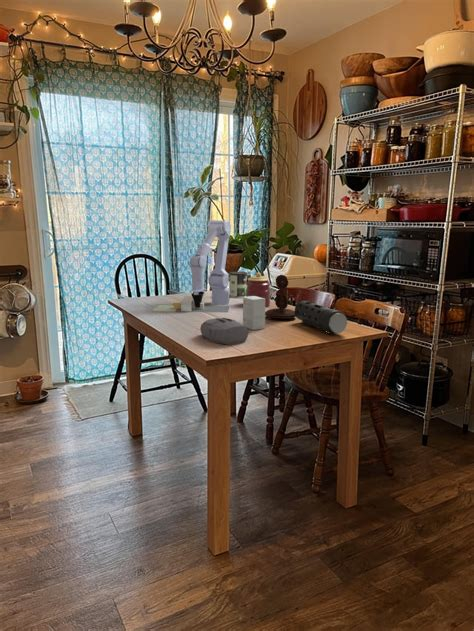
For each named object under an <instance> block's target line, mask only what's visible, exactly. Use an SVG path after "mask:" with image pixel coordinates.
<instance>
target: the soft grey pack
mask: <svg viewBox="0 0 474 631" xmlns="http://www.w3.org/2000/svg"><path fill="white" fill-rule="evenodd" d="M199 328H200V333H201V336H202V337H204V338H205V339H207V340H208V339H209V340H208V341H210V340H211V342H213V343H217V344H220V345H229V344H231V345H234V344H235V345H236V344H237V345H238V344H241V343H244V342H246V341H247V339H248V337H249V336H248V335H249V332H248V331H249V330H248V328H246V326H244V325H243V323H241V322H239V321H237V320H235V319H231V318H227V317H214V318H211V319H210V318H209V319H206V320H205V321H204V322H203V323H201V325H200V327H199ZM229 346H230V345H229Z"/></svg>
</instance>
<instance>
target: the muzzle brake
mask: <svg viewBox="0 0 474 631" xmlns="http://www.w3.org/2000/svg"><path fill="white" fill-rule="evenodd" d="M294 311H295V316H296V317H295V318H296V319H298V321H301V322H302V323H303V322H304V323H303V324H305V323H306V324H305V325H308V324H309V325H308V326H310V325H311V327H313V326H314V328H315V327H318V328H317V329H321V330H323V332H324V331H327V332H329V333H328V334H332V335H333V334H341V333H343V332H344V331H345V330H346V328H347V326H348V319H347V316H346V315H345V314H344V313H343V312H342V311H340V310H337V309H332V308H329V307H326V306H322V305H320V304H317V303H313V302H311V301H308V300H301V301H298V302H297V304H296V305H295V307H294Z"/></svg>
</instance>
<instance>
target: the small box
mask: <svg viewBox="0 0 474 631" xmlns="http://www.w3.org/2000/svg"><path fill="white" fill-rule="evenodd" d="M265 312H266V307H265V298H261V297H257V296H248V297H243V298H242V324H243V325H244V326H246V328H247V329H250V330H252V331H255V330H256V331H257V330H263V329H266V315H265Z"/></svg>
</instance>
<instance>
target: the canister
mask: <svg viewBox="0 0 474 631" xmlns="http://www.w3.org/2000/svg"><path fill="white" fill-rule="evenodd" d="M269 281H270V278H268V277H267V276H266V275H262V274H261V272H256V274H255V275H251V276H249V277H247V283H246V285H247V289H246V297H248V296H257V297H261V298H265V308H267V307H270V306H271V287H270V286H271V282H269Z"/></svg>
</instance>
